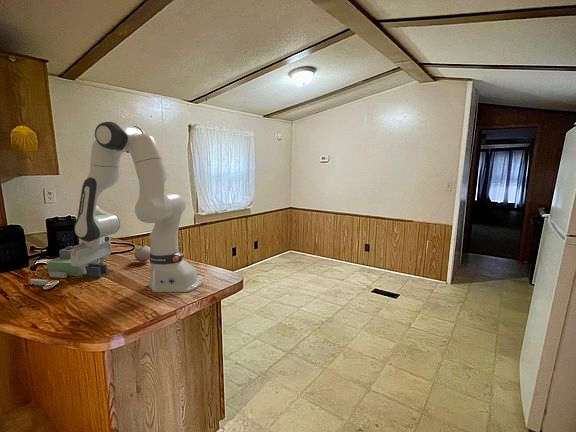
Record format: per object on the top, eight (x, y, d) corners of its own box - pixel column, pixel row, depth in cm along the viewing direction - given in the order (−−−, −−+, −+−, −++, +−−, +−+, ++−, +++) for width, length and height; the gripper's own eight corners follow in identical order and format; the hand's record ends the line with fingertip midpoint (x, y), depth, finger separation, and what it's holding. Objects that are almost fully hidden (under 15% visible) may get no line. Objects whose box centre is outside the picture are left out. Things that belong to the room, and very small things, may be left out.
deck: (98, 267, 155) (96, 245, 153) (54, 286, 131) (51, 260, 129) (70, 265, 157) (67, 243, 155) (22, 283, 134) (18, 258, 132)
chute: (90, 273, 147) (89, 263, 146) (107, 274, 145) (106, 264, 144) (82, 277, 142) (81, 266, 141) (99, 278, 140) (98, 268, 140)
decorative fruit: (149, 265, 159) (148, 246, 158) (132, 265, 158) (131, 246, 156) (155, 259, 168) (153, 241, 167) (139, 259, 167) (137, 241, 166)
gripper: (78, 247, 130) (81, 278, 133) (113, 236, 150) (115, 263, 152) (65, 246, 131) (68, 277, 134) (101, 235, 151) (103, 262, 153)
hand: (93, 269), depth 143 cm, fingers open, 8 cm apart
